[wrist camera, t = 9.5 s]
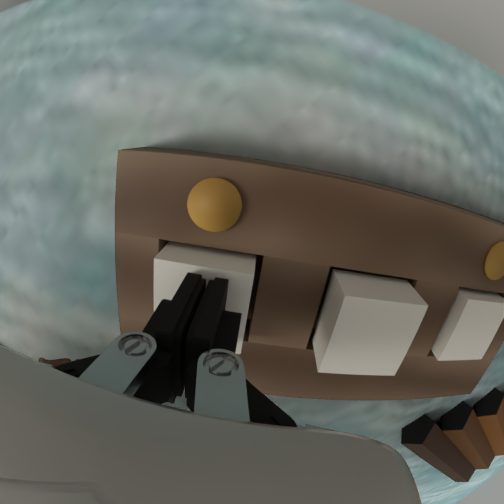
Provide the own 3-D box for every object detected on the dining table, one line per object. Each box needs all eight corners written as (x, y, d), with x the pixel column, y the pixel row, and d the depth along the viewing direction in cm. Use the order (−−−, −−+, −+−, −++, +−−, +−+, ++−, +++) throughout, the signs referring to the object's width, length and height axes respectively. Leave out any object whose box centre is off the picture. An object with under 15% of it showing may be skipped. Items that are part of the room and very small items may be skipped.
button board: (455, 369, 19) (471, 395, 16) (141, 337, 18) (124, 368, 15) (516, 228, 14) (545, 244, 11) (144, 147, 14) (116, 150, 11)
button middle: (380, 345, 15) (394, 375, 12) (311, 339, 15) (317, 372, 12) (406, 280, 13) (428, 305, 11) (332, 268, 13) (344, 295, 11)
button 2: (244, 323, 15) (240, 354, 13) (169, 310, 15) (154, 338, 13) (256, 251, 14) (254, 275, 12) (172, 238, 14) (154, 258, 11)
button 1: (464, 337, 16) (481, 359, 14) (421, 335, 16) (437, 360, 14) (488, 285, 14) (509, 304, 12) (446, 278, 14) (468, 299, 12)
